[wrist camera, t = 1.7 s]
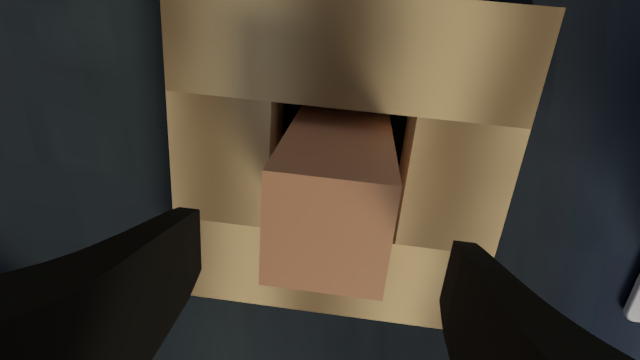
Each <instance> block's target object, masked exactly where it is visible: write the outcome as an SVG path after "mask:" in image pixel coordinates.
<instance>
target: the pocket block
mask: <svg viewBox="0 0 640 360" xmlns="http://www.w3.org/2000/svg"><path fill="white" fill-rule="evenodd" d="M160 8H161V25H162V41H163V58H164V74H165V91H166V107H167V124H168V140H169V157H170V173H171V190H172V206H173V209H175V208H178V207H184V208H192V209H200V233H201V264H202V270H201V272H200V274H199V277H198V279H197V282H196V284H195V287H194V289H193V291H192V293H191V295H193V296H200V297H207V298H215V299H222V300H230V301H237V302H244V303H252V304H259V305H267V306H274V307H281V308H289V309H296V310H304V311H311V312H319V313H326V314H333V315H341V316H348V317H356V318H363V319H370V320H378V321H385V322H393V323H400V324H407V325H415V326H422V327H430V328H437V329H443V328H442V321H441V312H440V302H439V299H440V295H441V290H442V286H443V282H444V278H445V274H446V269H447V265H448V261H449V257H450V253H451V248H452V244H453V240H456V241H464V242H473V243H477V244H478V245H479V246H481V247H482V248H483V249H484V250H485V251H487V252H488V253H489V254H490V255H491V256H492V257H493V258H494V257H495V253H496V250H497V246H498V243H499V240H500V236H501V233H502V229H503V226H504V222H505V219H506V215H507V212H508V208H509V205H510V201H511V198H512V194H513V191H514V187H515V184H516V180H517V177H518V173H519V170H520V166H521V163H522V159H523V156H524V152H525V149H526V145H527V142H528V138H529V135H530V131H531V128H532V124H533V121H534V117H535V114H536V110H537V107H538V103H539V100H540V97H541V93H542V90H543V86H544V83H545V79H546V76H547V72H548V69H549V65H550V62H551V58H552V55H553V51H554V48H555V44H556V41H557V37H558V34H559V30H560V27H561V23H562V20H563V16H564V13H565V9H566V8H561V7H550V6H539V5H527V4H516V3H505V2H493V1H482V0H160ZM284 103H288V104H298V105H307V106H316V107H326V108H335V109H345V110H354V111H364V112H373V113H383V114H392V115H402V116H408V117H407V123H406V129H405V135H404V141H403V147H402V153H401V159H400V165H399V171H400V177H401V182H402V191H401V197H400V203H399V208H398V214H397V220H396V226H395V232H394V237H393V243H392V249H391V255H390V261H389V266H388V272H387V278H386V284H385V289H384V295H383V301H378V300H370V299H363V298H355V297H348V296H340V295H332V294H325V293H317V292H310V291H302V290H295V289H287V288H279V287H272V286H264V285H259V256H260V224H261V192H262V170H263V168H264V167H265V165H266V163H267V162H268V160H269V158H270V157H271V155H272V153H273V152H274V150H275V149H276V147H277V145H278V144H279V142H280V140H281V139H282V136H283V116H284Z"/></svg>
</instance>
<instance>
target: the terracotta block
mask: <svg viewBox="0 0 640 360" xmlns="http://www.w3.org/2000/svg"><path fill="white" fill-rule="evenodd" d="M401 191H402V182H401V177H400V171H399V166H398V160H397V155H396V149H395V143H394V138H393V132H392V127H391V121H390V116H389V115H383V114H373V113H364V112H354V111H345V110H335V109H326V108H316V107H307V106H301V108H300V109H299V111H298V113H297V114H296V116H295V117H294V119H293V121H292V122H291V124H290V126H289V127H288V129H287V131H286V132H285V134H284V135H283V137H282V139H281V140H280V142H279V144H278V145H277V147H276V149H275V150H274V152H273V153H272V155H271V157H270V158H269V160H268V162H267V163H266V165H265V167H264V168H263V170H262V192H261V224H260V256H259V285H264V286H272V287H279V288H287V289H295V290H302V291H310V292H317V293H325V294H332V295H340V296H348V297H355V298H363V299H370V300H378V301H383V295H384V289H385V284H386V278H387V272H388V266H389V261H390V255H391V249H392V243H393V237H394V232H395V226H396V220H397V214H398V208H399V203H400V197H401Z"/></svg>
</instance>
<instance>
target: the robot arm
mask: <svg viewBox="0 0 640 360" xmlns="http://www.w3.org/2000/svg"><path fill="white" fill-rule="evenodd" d="M201 270H202V264H201V233H200V209H192V208H184V207H178V208H175V209H172V210H170V211H167V212H165V213H163V214H161V215H159V216H156V217H154V218H152V219H150V220H148V221H146V222H144V223H142V224H139V225H137V226H135V227H133V228H131V229H129V230H127V231H125V232H122V233H120V234H118V235H115V236H113V237H111V238H108V239H106V240H104V241H101V242H99V243H97V244H94V245H92V246H90V247H87V248H84V249H82V250H79V251H76V252H74V253H71V254H68V255H65V256H62V257H59V258H56V259H53V260H50V261H47V262H43V263H40V264H36V265H32V266H29V267H25V268H21V269H17V270H13V271H10V272H6V273H2V274H0V360H152V359H153V357H154V356H155V354H156V352H157V351H158V349H159V347H160V346H161V344H162V343H163V341H164V339H165V338H166V336H167V334H168V333H169V331H170V329H171V328H172V326H173V325H174V323H175V321H176V320H177V318H178V316H179V315H180V313H181V311H182V310H183V308H184V306H185V305H186V303H187V301H188V300H189V298H190V296H191V293H192V291H193V289H194V287H195V284H196V282H197V279H198V277H199V274H200V272H201ZM439 302H440V312H441V321H442V328H443V334H444V338H445V342H446V346H447V350H448V354H449V358H450V360H635V359H633V358H632V357H630V356H628V355H626V354H625V353H623V352H621V351H619V350H618V349H616V348H614V347H612V346H611V345H609V344H607V343H605V342H604V341H602V340H601V339H599V338H597V337H596V336H594V335H592V334H591V333H589V332H588V331H586V330H585V329H583V328H582V327H580V326H579V325H577V324H576V323H574V322H573V321H571V320H570V319H568V318H567V317H565V316H564V315H563V314H561V313H560V312H558V311H557V310H556V309H554V308H553V307H552V306H551V305H549V304H548V303H547V302H545V301H544V300H543V299H542V298H540V297H539V296H538V295H536V294H535V293H534V292H533V291H531V290H530V289H529V288H528V287H527V286H525V285H524V284H523V283H522V282H521V281H520V280H518V279H517V278H516V277H515V276H514V275H513V274H511V273H510V272H509V271H508V270H507V269H506V268H505V267H504V266H502V265H501V264H500V263H499V262H498V261H497V260H496V259H495V258H493V257H492V256H491V255H490V254H489V253H488V252H487V251H485V250H484V249H483V248H482V247H481V246H479V245H478V244H477V243H473V242H464V241H456V240H453V244H452V248H451V253H450V257H449V261H448V265H447V269H446V274H445V278H444V282H443V286H442V290H441V295H440V299H439ZM623 313H624V315H625V316H626V317H627V318H628V319H629V320H630V321H633V322H640V273H639V276H638V278H637V280H636V282H635V285H634V287H633V289H632V291H631V293H630V296H629V298H628V300H627V302H626V304H625V307H624V309H623Z"/></svg>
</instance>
